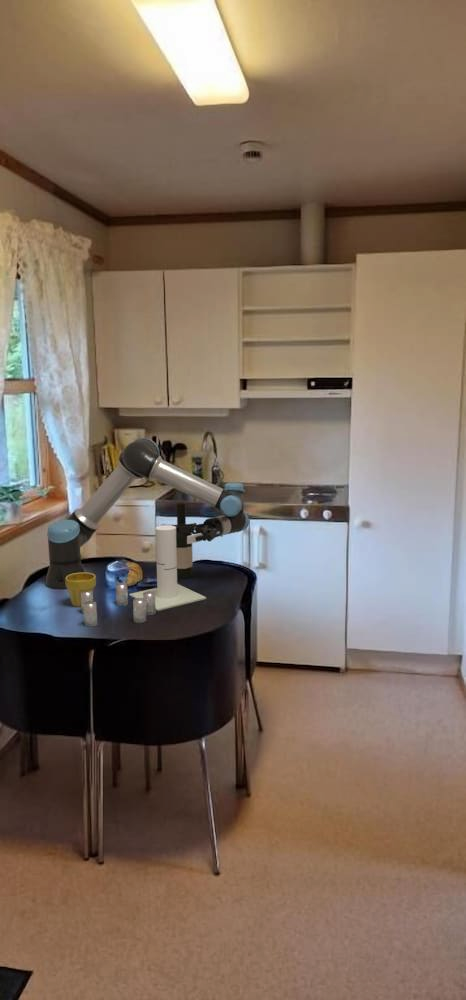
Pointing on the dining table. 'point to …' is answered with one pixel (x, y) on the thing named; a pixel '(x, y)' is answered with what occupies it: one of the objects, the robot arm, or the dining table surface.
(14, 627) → the dining table surface
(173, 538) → the cylindrical container
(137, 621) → the lit candle cluster
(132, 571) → the croissant
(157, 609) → the sage board
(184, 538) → the wine bottle
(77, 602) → the plant pot
